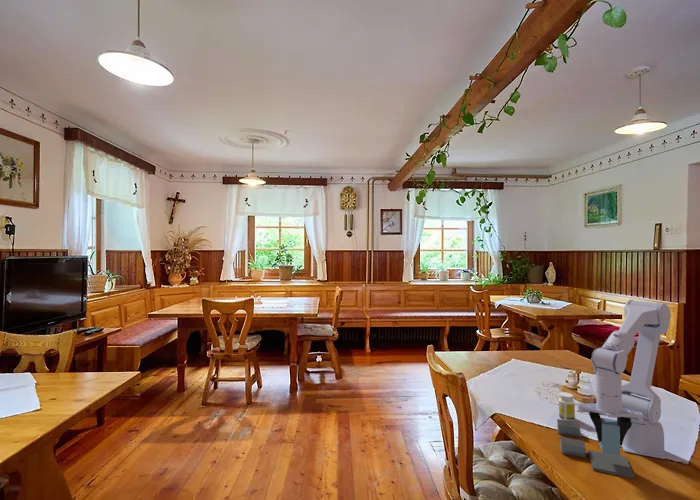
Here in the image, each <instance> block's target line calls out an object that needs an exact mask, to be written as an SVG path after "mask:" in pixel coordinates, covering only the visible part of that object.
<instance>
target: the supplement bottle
mask: <svg viewBox="0 0 700 500" xmlns="http://www.w3.org/2000/svg"><path fill="white" fill-rule="evenodd" d="M575 408H576V407H575V401H574V395H573V394H572V393H569V392H565V391H564V392H563V391H562V392H560V393H559V398H558V417H559V419H560V420H566V421H572V422H575V419H576V412H575V410H576V409H575Z"/></svg>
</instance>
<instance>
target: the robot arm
mask: <svg viewBox="0 0 700 500" xmlns="http://www.w3.org/2000/svg"><path fill="white" fill-rule="evenodd" d="M623 308H624V309H623V313H624V319H623V320H622V324H621V326H620V327H619V329H618V330H614V331H613V332H611V333H610V335H608V338H607V339H606V341H605V342H604V343H603V345H602V346H601V347H597V348H595V349H594V350H593V352H592V353H591V358H590V363H591V365H592V367H593V374H594V375H595V380H596V381H595V387H596V388H595V389H596V393H595V394H596V396H595V397H596V398H595V399H596V400H595V401H596V403H584V402H583V403H582V402H581V403H580V402H577V410H578V413H580V414H581V413H582V414H583V413H587V414H588V415H589V417H590V420H591V421H592V424H593V426H594V428H595V432H596V438H597V441H598V443H600V442H601V441H602V436H601V422H602V421H601V418H602V417H601V416H606V417H609V418H614V419H616V420H617V422H618V424H619V426H620V447H622V450H623V451H624V452H626V453H629V454H630V453H631V454H635V455H641V456H645V457H646V456H647V457H652V458H657V459H660V460H661V459H662V460H665V459H666V456H665V433H664V427H663V424H662V423H661V422H660V418H661V416H662V415H661V414H662V408H661V406H662V405H661V404H662V402H661V401H662V399H661V398H660V397H659V395H658V394H657V393H656V392H655V391H653V389H652V388H651V387H652V383H653V382H652V381H653V376H654V371H655V366H656V361H657V360H656V359H657V355H658V349H659V346H660V345H659V344H660V339H661V335H664V334H667V333H668V330H669V327H670V323H671V316H672V315H671V309H670V307H669V305H668V304H667V303H665V302H659V303H658V302H650V301H642V300H640V301H639V300H634V299H629V300H627V301H626V302H625V303H624V307H623ZM637 333H639V334H638V339H637V344H636V350H635V354H634V359H633V366H632V368H631V369H632V370H631V375H630V379H629V382H628V383H627V382H626V383H625V384H623V383H622V374H623V373H624V372H625V370H626V366H627V361H628V359H629V358H628V355H629V354H630V352H631V350H632V349H633V347H634V345H635V343H636V342H635V339H634V337H635V336H636V335H637Z"/></svg>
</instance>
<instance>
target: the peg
mask: <svg viewBox="0 0 700 500" xmlns="http://www.w3.org/2000/svg"><path fill="white" fill-rule="evenodd" d="M600 418H601V421H602V422H601V436H602V441H601V442H599V447H600V450H601V451H600V452H601V453H606V454H611V455H616V456H621V445H620V426H619V424H618V422H617V419H612V418H607V417H606V418H604V417H600Z"/></svg>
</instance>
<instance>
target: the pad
mask: <svg viewBox="0 0 700 500" xmlns="http://www.w3.org/2000/svg"><path fill="white" fill-rule="evenodd" d="M587 453H588V457H589V460H590V464H591V469H592V471H596V472H600V473H604V474H609V475H615V476H617V477H622V478H628V479H632V480H635V474H634V472H633V469H632V468H631V467H632V466H631V465H630V464H629V460H628V458H627V457H625V456H621V455H620V456H616V455H611V454H606V453H602V451H596V450H591V449H587Z"/></svg>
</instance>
